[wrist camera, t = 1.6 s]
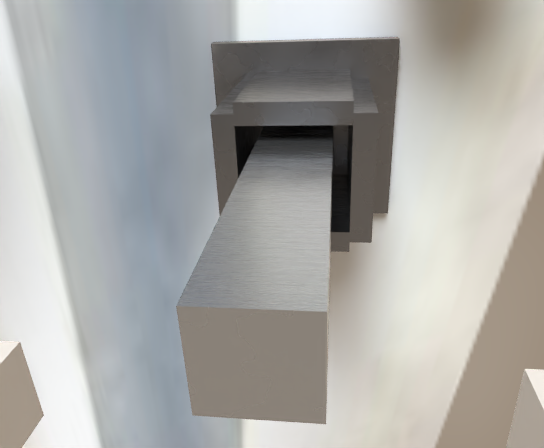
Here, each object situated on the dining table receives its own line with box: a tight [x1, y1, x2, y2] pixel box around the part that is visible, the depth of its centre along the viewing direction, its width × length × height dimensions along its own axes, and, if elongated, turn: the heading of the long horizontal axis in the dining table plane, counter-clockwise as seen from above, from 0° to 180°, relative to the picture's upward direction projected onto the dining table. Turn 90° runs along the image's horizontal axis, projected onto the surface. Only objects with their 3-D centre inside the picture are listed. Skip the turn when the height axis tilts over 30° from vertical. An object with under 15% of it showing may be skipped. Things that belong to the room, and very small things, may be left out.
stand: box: [210, 37, 400, 252], centre depth 30 cm, size 12×12×12 cm
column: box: [176, 125, 334, 424], centre depth 24 cm, size 4×5×23 cm
